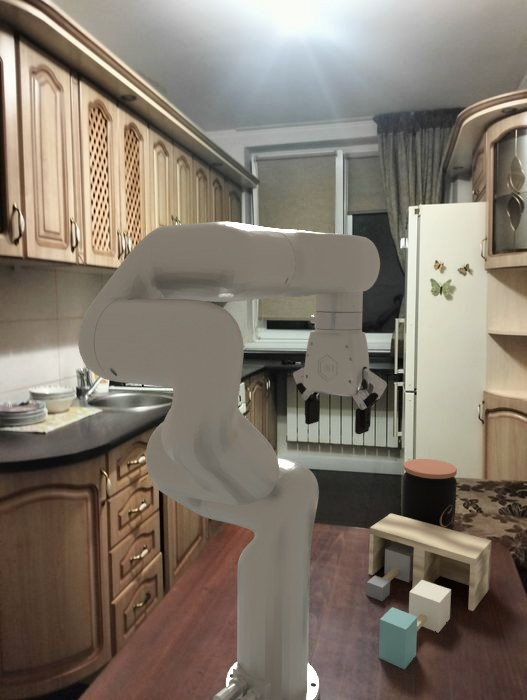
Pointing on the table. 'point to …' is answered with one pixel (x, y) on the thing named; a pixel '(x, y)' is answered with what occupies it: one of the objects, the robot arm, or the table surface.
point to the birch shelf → (435, 553)
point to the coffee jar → (429, 492)
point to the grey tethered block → (392, 570)
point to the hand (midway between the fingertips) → (336, 427)
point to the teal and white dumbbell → (413, 622)
